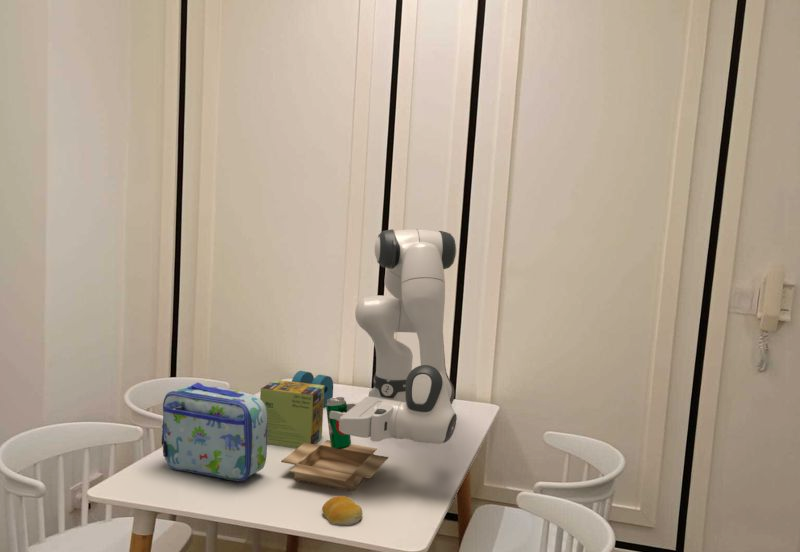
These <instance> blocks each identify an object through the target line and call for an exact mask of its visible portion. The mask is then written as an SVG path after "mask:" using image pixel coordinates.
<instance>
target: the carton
mask: <svg viewBox="0 0 800 552" xmlns="http://www.w3.org/2000/svg"><path fill="white" fill-rule="evenodd" d="M377 450H378V447H377V448H376V447H371V446H366V445H360V444H353V443H351V444H350V446H349V447H347V448H344V449H333V448H332V447H331V443H330V439H329V440H328V439H326V440H325V441H324V442H322V444H310V443H304V444H302V445H301V446H300V447H298V448H295V449H294V450H293V451H292V452H290V453H289V454H288V455H287V456H285V457H284V458H283V459H282V460H280V462H281V463H284V464H290V465H294V467H292V468H291V469H290V470H289V471H290V473H294V481H297V482H303V483H307V484H313V485H317V486H323V487H329V488H334V489H338V490H344V491H350V492H353V491H354V490H356V488H357V487H358V486H359V485H360V484H361V483H362V482H363V480H364V479H365V478H366V479H371V478H372V477H373V476H374V475H375V474H376V473H377V471H378V470H379V469H380V468H381V467H382V466H383V465H384V464H385V462H386V461H387V460H388V459H389V456H384V455H378V454H374V453H375V452H377Z"/></svg>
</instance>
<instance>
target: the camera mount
mask: <svg viewBox="0 0 800 552" xmlns="http://www.w3.org/2000/svg"><path fill="white" fill-rule="evenodd" d="M291 382H300V383H308V384H316V385H324V402H323V409H325V408H326V404H327V400H328V399H330V398H334V396H333V395H334V381H333V379H332V377H331V376H329V375H325V374H318V375H316V376H315V377H314V375H313V373H312V372H309V371H304V370H299V371H297V372H296V373H295V374H294V376H293V377H292V379H291Z"/></svg>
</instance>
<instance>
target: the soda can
mask: <svg viewBox="0 0 800 552" xmlns="http://www.w3.org/2000/svg"><path fill="white" fill-rule="evenodd" d="M346 403H347V401H346V400H345V397H343V396H342V397H341V396H337V397H336V396H334V397H333V398H330V399H328V400H327V404H326V407H325V408H326V417H327V418H326V419H327V425H328V433H329V440H330V443H331V447H332V448H333V449H344V448H347V447H349V446H350V444H352V436H351V435H348V434H344V433H342V432H340V431H339V421H338V420H336V419H331V418H330V417H329V413H330V411H332V410H338V412H341V413H343V412H345V413H346V412H348V411H347V404H348V403H347V404H346Z"/></svg>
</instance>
